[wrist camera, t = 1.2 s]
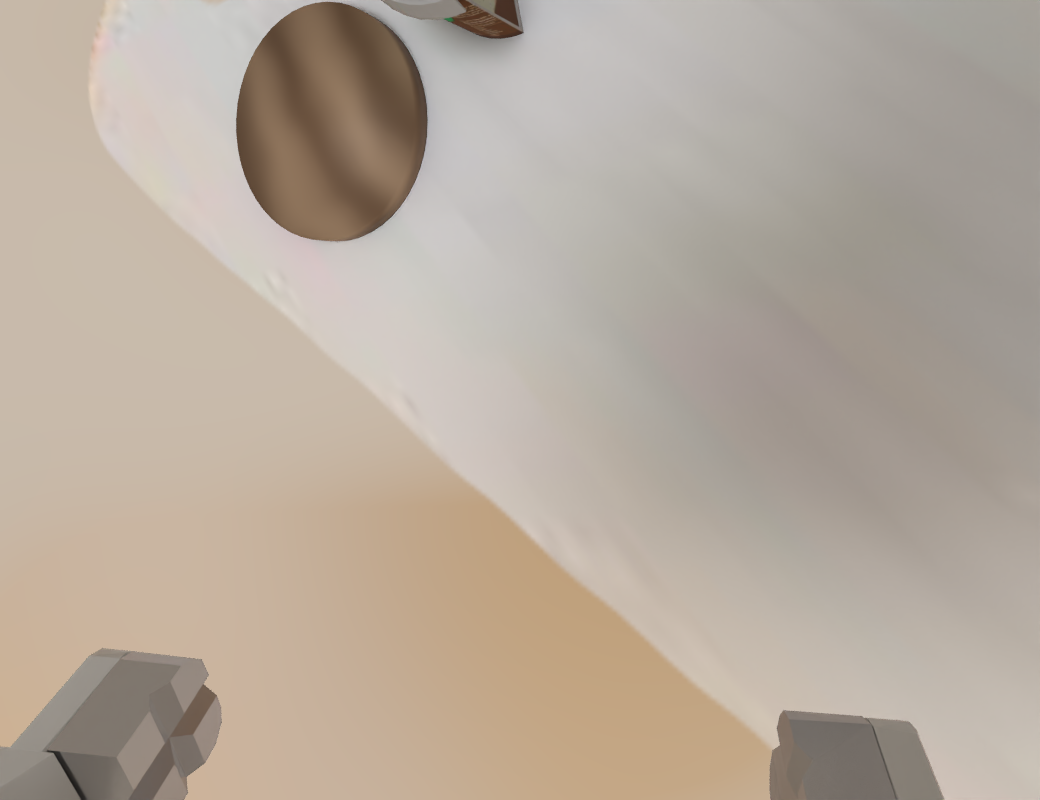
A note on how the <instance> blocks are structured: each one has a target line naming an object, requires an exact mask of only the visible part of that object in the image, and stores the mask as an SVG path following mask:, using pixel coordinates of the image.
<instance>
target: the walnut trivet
mask: <svg viewBox="0 0 1040 800" xmlns="http://www.w3.org/2000/svg"><path fill="white" fill-rule="evenodd" d="M236 133H237V143H238V151H239V156H240V161H241V165H242V168H243V171H244V175H245V177H246V180H247V182H248V184H249V187H250V189H251V191H252V192H253V194H254V196H255V198H256V200H257V201H258V202H259V204H260V205H261V207H262V208H263V210H264V211H265V212H266V213H267V214H268V215H269V216H270V217H271V218H272V219H273V220H274V221H275V222H276V223H278V224H279V225H280V226H281V227H283V228H285V229H286V230H288V231H289V232H291V233H294V234H296V235H298V236H301V237H304V238H309V239H314V240H325V241H346V240H352V239H355V238H359V237H362V236H364V235H366V234H368V233H370V232H372V231H374V230H375V229H377V228H378V227H380V226H381V225H382V224H384V223H385V222H386V221H387V220H388V219H389V218H390V217H391V216H392V215H393V214H394V213H395V212H396V211H397V210H398V208H399V207H400V206H401V204H402V203H403V201H404V200H405V199H406V197H407V196H408V194H409V192H410V190H411V188H412V186H413V184H414V182H415V180H416V177H417V174H418V172H419V169H420V166H421V162H422V158H423V155H424V150H425V143H426V136H427V108H426V100H425V94H424V88H423V85H422V81H421V78H420V75H419V72H418V70H417V67H416V65H415V62H414V60H413V58H412V57H411V55H410V53H409V51H408V50H407V48H406V46H405V45H404V44H403V43H402V41H401V40H400V39H399V37H398V36H397V35H396V34H395V33H394V32H393V31H392V30H391V29H389V28H388V27H387V26H386V25H384V24H383V23H381V22H380V21H379V20H377V19H375V18H374V17H372V16H370V15H368V14H367V13H365V12H363V11H361V10H359V9H357V8H355V7H352V6H350V5H346V4H342V3H336V2H321V3H314V4H310V5H307V6H303V7H301V8H299V9H297V10H295V11H293V12H291V13H290V14H288V15H287V16H286V17H284V18H283V19H281V20H280V21H279V22H278V23H277V24H276V25H275V26H274V27H273V28H272V29H271V30H270V31H269V32H268V33H267V35H266V36H265V37H264V38H263V40H262V41H261V43H260V44H259V46H258V47H257V49H256V50H255V52H254V54H253V56H252V58H251V60H250V62H249V64H248V67H247V70H246V72H245V75H244V78H243V82H242V85H241V89H240V94H239V99H238V106H237V118H236Z"/></svg>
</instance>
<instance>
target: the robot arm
mask: <svg viewBox="0 0 1040 800" xmlns="http://www.w3.org/2000/svg"><path fill="white" fill-rule="evenodd" d="M208 675H209V674H208V672H207V670H206V668H205V665H204V663H203V661H202V659H194V658H186V657H177V656H168V655H160V654H151V653H142V652H135V651H125V650H114V649H103V648H102V649H100V650H99V651H97V652H95V653H93V654H92V655H90V656H89V657H88V658H87V659H86V660H85V661H84V662H83V664H82V665H81V666H80V667H79V668H78V669H77V670H76V672H75V673H74V674H73V675H72V676H71V677H70V679H69V680H68V681H67V682H66V683H65V684H64V686H63V687H62V688H61V689H60V690H59V691H58V692H57V694H56V695H55V696H54V697H53V698H52V699H51V701H50V702H49V703H48V704H47V705H46V706H45V708H44V709H43V710H42V711H41V712H40V713H39V714H38V716H37V717H36V718H35V719H34V721H32V723H31V724H30V725H29V726H28V727H27V728H26V730H25V731H24V732H23V733H22V734H21V736H20V737H19V738H18V739H17V740H16V741H15V742H14V744H13V745H12V746H11V747H0V800H184V799H185V797H186V795H187V793H188V790H187V776H188V775H190V774H191V773H192V772H194V771H195V770H196V769H197V768H199V767H200V766H202V765H203V764H204V763H205V762H206V760H207V759H208V757H209V755H210V753H211V751H212V750H213V748H214V746H215V744H216V741H217V737H218V734H219V730H220V726H221V723H222V721H221V720H222V719H221V706H220V703H219V700H218V698H217V695H216V694H214V693H213V692H212V691H211V690H209V688H207V687H206V686H205V685H204V682H205V680H206V679H207V677H208ZM777 731H778V737H779V742H780V746H778V747H777V748H775V749H774V750H772V757H771V763H770V798H771V800H944V797H943V795H942V792H941V790H940V787H939V785H938V782H937V780H936V777H935V775H934V772H933V770H932V767H931V765H930V762H929V760H928V757H927V755H926V752H925V750H924V747H923V745H922V742H921V740H920V737H919V735H918V732H917V730H916V729H915V728H914V727H913V725H912V724H911V723H910V722H908V721H901V720H888V719H875V718H864V717H862V716H853V715H839V714H826V713H813V712H799V711H786V710H783V712H782V713H781V714H780V716H779V721H778V726H777Z"/></svg>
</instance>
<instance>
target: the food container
mask: <svg viewBox="0 0 1040 800" xmlns="http://www.w3.org/2000/svg"><path fill="white" fill-rule="evenodd" d="M382 1H383V2H384V3H385V4H387V5H388V6H389V7H391V8H392V9H393V10H396V11H398V12H400V13H402V14H404V15H406V16H410V17H414V18H418V19H428V20H438V19H445V20H447V21H449V22H451V23H453V24H456V25H458V26H460V27H462V28H464V29H466V30H468V31H471V32H473V33H475V34H477V35H479V36H483V37H487V38H500V39H501V38H508V37H513V36H516V35H519V34H522V33H524V32H523V27H522V21H521V16H520V11H519V6H518V0H382Z"/></svg>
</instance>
